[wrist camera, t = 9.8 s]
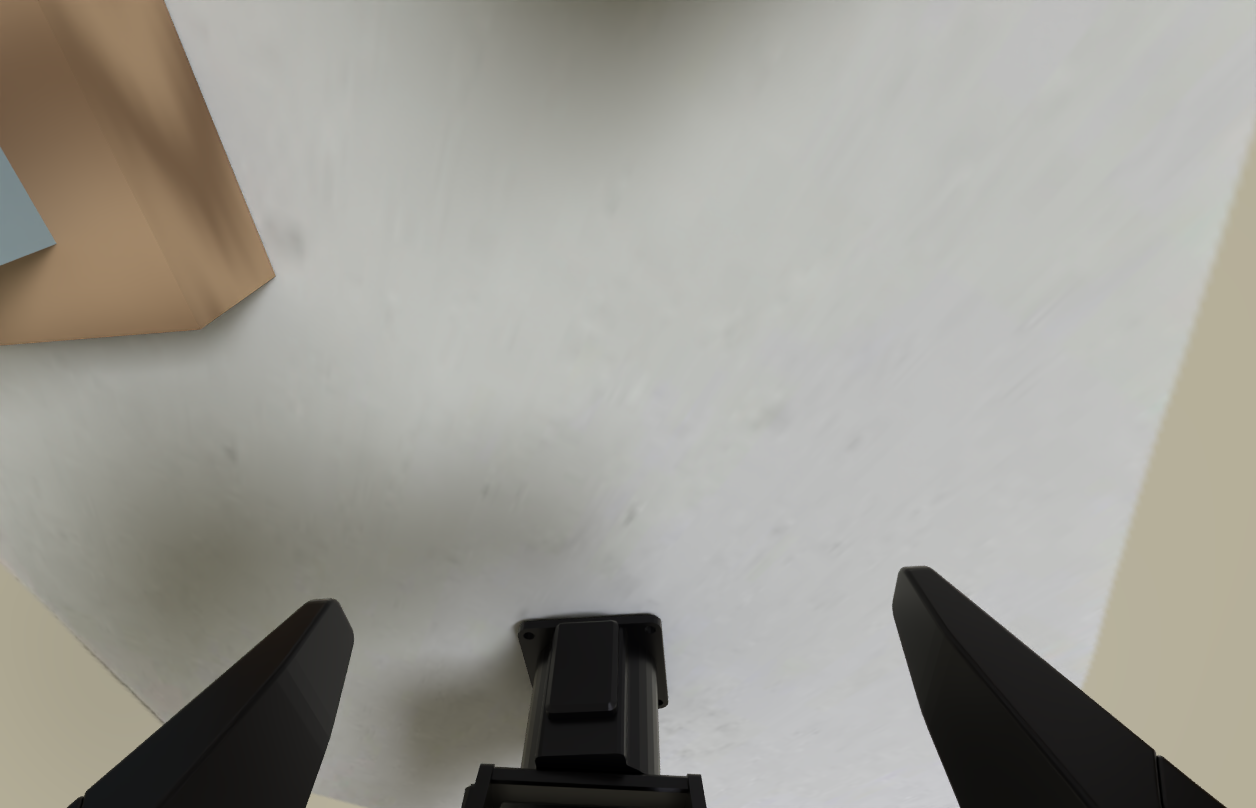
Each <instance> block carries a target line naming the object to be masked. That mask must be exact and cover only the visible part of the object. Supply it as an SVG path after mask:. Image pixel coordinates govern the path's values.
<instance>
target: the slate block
mask: <svg viewBox="0 0 1256 808" xmlns="http://www.w3.org/2000/svg"><path fill="white" fill-rule="evenodd" d="M55 244H56V242H55V240H54V238H53V237H52V235H51V233H50V231H49V230H48V228H47V226H46V225H45V223H44V221H43V219H42V218H41V216H40V214H39V213H38V211H37V209H36V207H35V206H34V204H33V202H32V200H31V199H30V197H29V195H28V194H27V192H26V190H25V188H24V187H23V185H22V183H21V182H20V180H19V178H18V176H17V175H16V173H15V171H14V169H13V168H12V166H11V164H10V163H9V161H8V159H7V157H6V156H5V154H4V152H3V151H2V149H1V147H0V265H3V264H5V263H8V262H11V261H13V260H16V259H18V258H21V257H24V256H26V255H29V254H31V253H34V252H37V251H39V250H42V249H44V248H47V247H49V246H52V245H55Z"/></svg>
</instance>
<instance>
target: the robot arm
mask: <svg viewBox="0 0 1256 808" xmlns="http://www.w3.org/2000/svg"><path fill="white" fill-rule="evenodd" d="M892 609H893V616H894V620H895V623H896V627H897V630H898V634H899V637H900V641H901V644H902V647H903V651H904V654H905V658H906V661H907V665H908V668H909V672H910V675H911V678H912V682H913V685H914V689H915V692H916V696H917V699H918V702H919V705H920V709H921V712H922V715H923V717H924V720H925V723H926V725H927V728H928V730H929V733H930V735H931V738H932V740H933V743H934V745H935V747H936V750H937V752H938V755H939V757H940V760H941V762H942V765H943V767H944V769H945V772H946V774H947V777H948V779H949V782H950V784H951V786H952V789H953V791H954V794H955V796H956V799H957V801H958V803H959V806H960V808H1226V807H1225V806H1224V805H1223V804H1221V803H1220V802H1219V801H1218V800H1216V799H1215V798H1214V797H1213V796H1211V795H1210V794H1209V793H1207V792H1206V791H1205V790H1204V789H1202V788H1201V787H1200V786H1199V785H1197V784H1196V783H1195V782H1193V781H1192V780H1191V779H1190V778H1188V777H1187V776H1186V775H1185V774H1184V773H1182V772H1181V771H1180V770H1179V769H1177V768H1176V767H1175V766H1174V765H1172V764H1171V763H1170V762H1169V761H1168V760H1166V759H1165V758H1164V757H1162V756H1159V755H1158V756H1156V752H1155V750H1154V749H1153V748H1151V747H1150V746H1149V745H1148V744H1146V743H1145V742H1144V741H1143V740H1141V739H1140V738H1139V737H1138V736H1137V735H1135V734H1134V733H1133V732H1132V731H1131V730H1129V729H1128V728H1127V727H1126V726H1124V725H1123V724H1122V723H1121V722H1119V721H1118V720H1117V719H1116V718H1114V717H1113V716H1112V715H1111V714H1110V713H1109V712H1107V711H1106V710H1105V709H1104V708H1102V707H1101V706H1100V705H1099V704H1097V703H1096V702H1095V701H1094V700H1093V699H1091V698H1090V697H1089V696H1088V695H1086V694H1085V693H1084V692H1083V691H1082V690H1080V689H1079V688H1078V687H1077V686H1075V685H1074V684H1073V683H1072V682H1071V681H1069V680H1068V679H1067V678H1066V677H1064V676H1063V675H1062V674H1061V673H1059V672H1058V671H1057V670H1056V669H1055V668H1053V667H1052V666H1051V665H1050V664H1048V663H1047V662H1046V661H1045V660H1044V659H1042V658H1041V657H1040V656H1039V655H1037V654H1036V653H1035V652H1034V651H1032V650H1031V649H1030V648H1029V647H1028V646H1026V645H1025V644H1024V643H1023V642H1021V641H1020V640H1019V639H1018V638H1017V637H1015V636H1014V635H1013V634H1012V633H1010V632H1009V631H1008V630H1007V629H1006V628H1004V627H1003V626H1002V625H1001V624H999V623H998V622H997V621H996V620H994V619H993V618H992V617H991V616H990V615H988V614H987V613H986V612H985V611H983V610H982V609H981V608H980V607H979V606H977V605H976V604H975V603H974V602H972V601H971V600H970V599H969V598H968V597H966V596H965V595H964V594H963V593H961V592H960V591H959V590H958V589H956V588H955V587H954V586H953V585H952V584H950V583H949V582H948V581H947V580H945V579H944V578H943V577H942V576H941V575H939V574H938V573H937V572H936V571H934V570H933V569H932V568H930V567H927V566H911V567H903V568H901V569H900V571H899V573H898V577H897V582H896V587H895V592H894V597H893V603H892ZM518 638H519V642H520V645H521V649H522V652H523V656H524V659H525V663H526V667H527V670H528V674H529V677H530V681H531V685H532V688H533V690H532V697H531V703H530V710H529V717H528V723H527V730H526V736H525V743H524V749H523V756H522V762H521V768H508V767H495V764H480V768H479V771H478V775H477V778H476V782H475V784H471V786H469V787H467V788H466V789H465V793H464V798H463V802H462V807H461V808H706V802H705V796H704V790H703V784H702V778H701V775H700V774H687V776H669V775H660V753H659V724H658V709H660V708H664V707H666V706H667V705H668V691H667V680H666V669H665V658H664V647H663V635H662V624H661V620H660V619H659V618H658V617H657V616H654V615H641V616H621V617H602V618H583V619H563V620H544V621H527V622H524V623H522V624H521V625H520V627H519V632H518ZM353 644H354V634H353V630H352V627H351V625H350V623H349V621H348V619H347V617H346V615H345V613H344V611H343V609H342V607H341V605H340V603H339V602H338V601H337V600H335V599H332V598H330V599H314V600H310V601H308V602H307V603H305V604H304V605H303V606H302V607H300V608H299V609H298V610H297V611H296V612H295V613H293V614H292V615H291V616H290V617H289V618H288V619H286V620H285V621H284V622H283V623H282V624H281V625H279V626H278V627H277V628H276V629H275V630H274V631H272V632H271V633H270V634H269V635H268V636H267V637H265V638H264V639H263V640H262V641H261V642H260V643H258V644H257V645H256V646H255V647H254V648H253V649H251V650H250V651H249V652H248V653H247V654H246V655H244V656H243V657H242V658H241V659H240V660H239V661H237V662H236V663H235V664H234V665H233V666H232V667H230V668H229V669H228V670H227V671H226V672H225V673H223V674H222V675H221V676H220V677H219V678H218V679H216V680H215V681H214V682H213V683H212V684H211V685H209V686H208V687H207V688H206V689H205V690H204V691H202V692H201V693H200V694H199V695H198V696H197V697H195V698H194V699H193V700H192V701H191V702H190V703H188V704H187V705H186V706H185V707H184V708H183V709H181V710H180V711H179V712H178V713H177V714H176V715H174V716H173V717H172V718H171V719H170V720H169V721H167V722H166V723H165V724H164V725H163V726H162V727H160V728H159V729H158V730H157V731H156V732H155V733H153V734H152V735H151V736H150V737H149V738H148V739H147V740H145V741H144V742H143V743H142V744H141V745H139V746H138V747H137V748H136V749H135V750H134V751H133V752H131V753H130V754H129V755H128V756H127V757H126V758H124V759H123V760H122V761H121V762H120V763H119V764H117V765H116V766H115V767H114V768H113V769H112V770H110V771H109V772H108V773H107V774H106V775H105V776H103V777H102V778H101V779H100V780H99V781H98V782H96V783H95V784H94V785H93V786H92V787H91V788H90V789H88V790H87V791H86V793H85V795H84V797H83V796H81V797H79V798H77V799H76V800H75V801H74V802H73V803H72V804H70V805H69V806H68V807H67V808H306V805H307V802H308V799H309V797H310V794H311V791H312V788H313V785H314V783H315V780H316V777H317V774H318V771H319V769H320V766H321V763H322V760H323V757H324V754H325V751H326V748H327V745H328V742H329V739H330V736H331V732H332V729H333V725H334V721H335V717H336V713H337V709H338V705H339V701H340V697H341V693H342V689H343V685H344V681H345V677H346V673H347V669H348V665H349V661H350V657H351V653H352V649H353Z"/></svg>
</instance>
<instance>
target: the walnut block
mask: <svg viewBox="0 0 1256 808" xmlns="http://www.w3.org/2000/svg"><path fill="white" fill-rule="evenodd" d="M0 147H1V149H2V151H3V152H4V154H5V156H6V157H7V159H8V161H9V163H10V164H11V166H12V168H13V169H14V171H15V173H16V175H17V176H18V178H19V180H20V182H21V183H22V185H23V187H24V188H25V190H26V192H27V194H28V195H29V197H30V199H31V200H32V202H33V204H34V206H35V207H36V209H37V211H38V213H39V214H40V216H41V218H42V219H43V221H44V223H45V225H46V226H47V228H48V230H49V231H50V233H51V235H52V237H53V238H54V240H55V242H56V244H55V245H52V246H49V247H47V248H44V249H42V250H39V251H37V252H34V253H31V254H29V255H26V256H24V257H21V258H18V259H16V260H13V261H11V262H8V263H5V264H3V265H0V345H12V344H25V343H37V342H50V341H62V340H75V339H87V338H100V337H112V336H125V335H137V334H150V333H162V332H175V331H187V330H200V329H202V328H203V327H205V326H206V325H208V324H209V323H210V322H212V321H213V320H215V319H216V318H217V317H219V316H220V315H222V314H223V313H224V312H226V311H227V310H229V309H230V308H231V307H233V306H234V305H236V304H237V303H238V302H240V301H241V300H243V299H244V298H246V297H247V296H248V295H250V294H251V293H253V292H254V291H255V290H257V289H258V288H260V287H261V286H262V285H264V284H265V283H267V282H268V281H269V280H271V279H272V278H274V277H275V273H274V271H273V268H272V266H271V263H270V261H269V259H268V256H267V254H266V251H265V249H264V246H263V244H262V241H261V239H260V236H259V234H258V231H257V229H256V226H255V224H254V222H253V219H252V217H251V214H250V212H249V209H248V207H247V204H246V202H245V199H244V197H243V194H242V192H241V189H240V187H239V185H238V182H237V180H236V177H235V175H234V172H233V170H232V167H231V165H230V162H229V160H228V157H227V155H226V152H225V150H224V148H223V145H222V143H221V140H220V138H219V135H218V133H217V130H216V128H215V125H214V123H213V120H212V118H211V115H210V113H209V111H208V108H207V106H206V103H205V101H204V98H203V96H202V93H201V91H200V88H199V86H198V83H197V81H196V78H195V76H194V74H193V71H192V69H191V66H190V64H189V61H188V59H187V56H186V54H185V51H184V49H183V46H182V44H181V41H180V39H179V37H178V34H177V32H176V29H175V27H174V24H173V22H172V19H171V17H170V14H169V12H168V9H167V7H166V4H165V2H164V0H0Z"/></svg>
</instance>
